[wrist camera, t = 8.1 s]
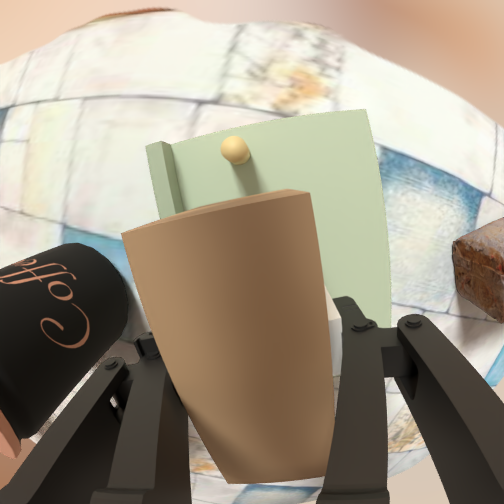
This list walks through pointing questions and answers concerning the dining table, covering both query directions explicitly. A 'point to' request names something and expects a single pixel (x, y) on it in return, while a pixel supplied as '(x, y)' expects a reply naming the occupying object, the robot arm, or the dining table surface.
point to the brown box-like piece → (244, 330)
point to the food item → (482, 268)
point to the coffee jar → (52, 332)
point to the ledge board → (297, 178)
